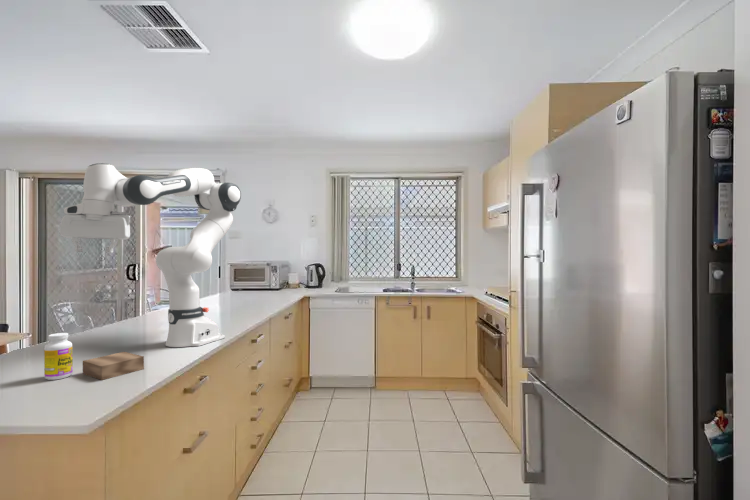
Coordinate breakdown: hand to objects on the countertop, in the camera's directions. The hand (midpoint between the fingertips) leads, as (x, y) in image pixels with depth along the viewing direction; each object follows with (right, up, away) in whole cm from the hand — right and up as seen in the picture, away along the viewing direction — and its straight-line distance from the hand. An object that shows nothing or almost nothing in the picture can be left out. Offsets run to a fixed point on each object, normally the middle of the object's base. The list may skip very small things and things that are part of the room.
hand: (94, 252), depth 130 cm
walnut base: (+11, -37, -7) cm, 39 cm away
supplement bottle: (-2, -38, -11) cm, 39 cm away
